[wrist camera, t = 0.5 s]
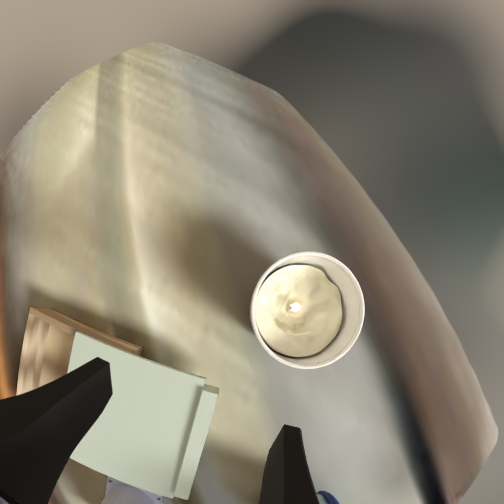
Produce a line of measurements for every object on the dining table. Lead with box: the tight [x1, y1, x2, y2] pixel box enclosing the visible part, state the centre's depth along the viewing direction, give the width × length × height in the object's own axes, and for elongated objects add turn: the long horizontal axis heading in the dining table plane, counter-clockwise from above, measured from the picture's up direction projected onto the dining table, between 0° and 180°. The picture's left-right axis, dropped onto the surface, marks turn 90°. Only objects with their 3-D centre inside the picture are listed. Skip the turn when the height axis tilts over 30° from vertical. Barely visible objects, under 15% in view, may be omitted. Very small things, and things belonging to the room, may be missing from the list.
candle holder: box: [249, 251, 364, 369], centre depth 30 cm, size 10×10×12 cm
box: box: [16, 307, 143, 396], centre depth 29 cm, size 16×14×5 cm
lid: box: [67, 331, 219, 500], centre depth 27 cm, size 16×16×3 cm
